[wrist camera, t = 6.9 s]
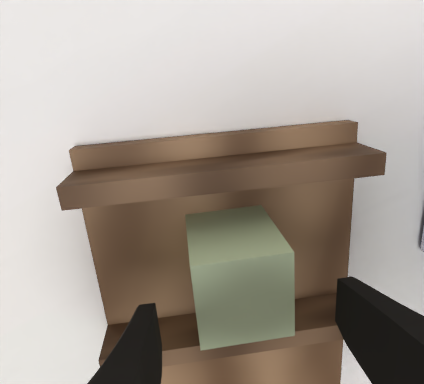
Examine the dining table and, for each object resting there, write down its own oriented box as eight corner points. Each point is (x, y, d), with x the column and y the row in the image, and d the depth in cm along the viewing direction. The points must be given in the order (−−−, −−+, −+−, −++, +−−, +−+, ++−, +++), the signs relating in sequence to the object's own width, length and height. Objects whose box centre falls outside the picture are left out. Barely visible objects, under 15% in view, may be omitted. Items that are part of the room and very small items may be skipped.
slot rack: (348, 120, 17) (388, 129, 14) (331, 409, 24) (355, 461, 21) (74, 146, 16) (50, 163, 13) (138, 442, 23) (133, 501, 20)
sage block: (261, 205, 17) (294, 252, 13) (264, 270, 19) (294, 335, 14) (185, 214, 17) (189, 266, 12) (193, 280, 18) (200, 350, 14)
